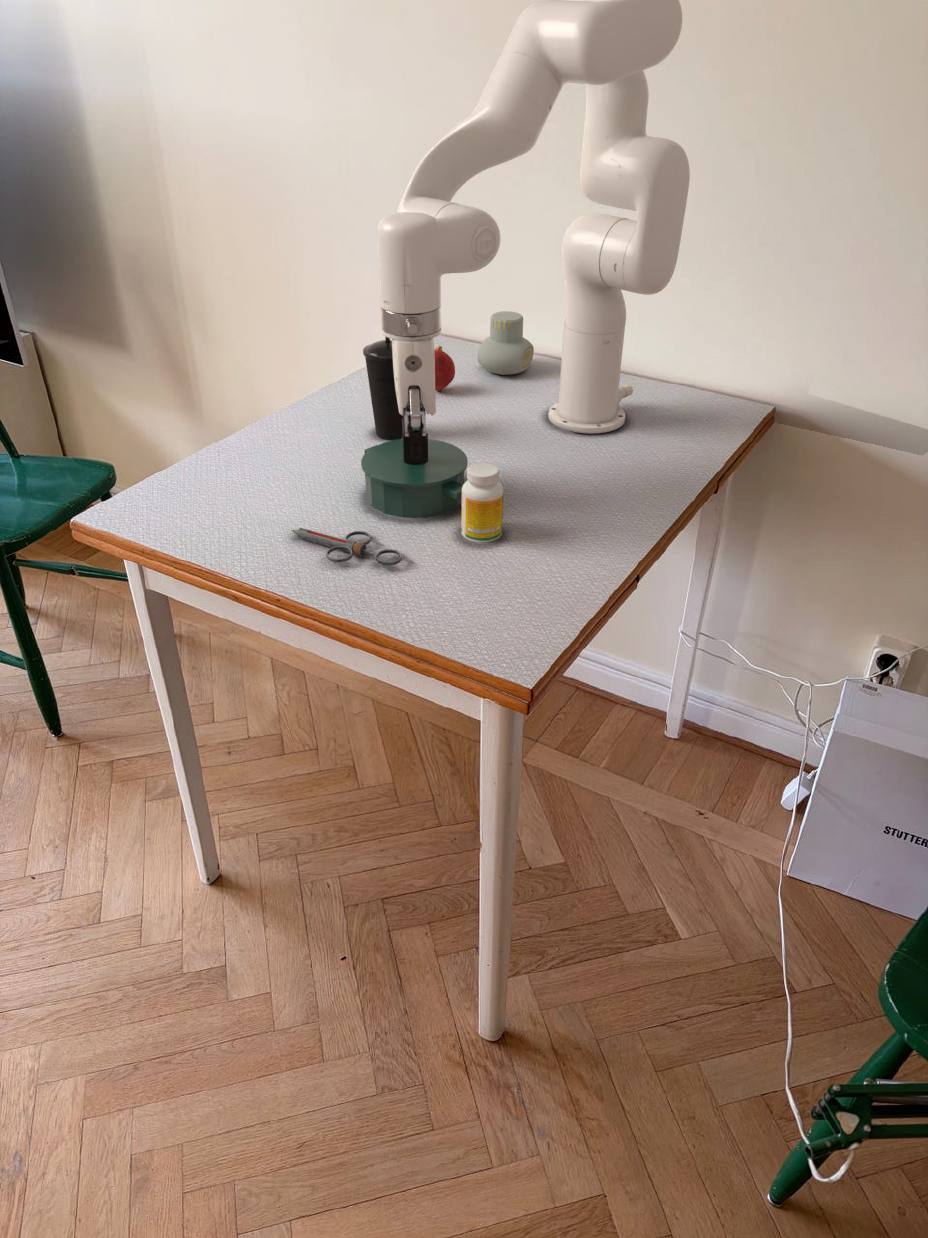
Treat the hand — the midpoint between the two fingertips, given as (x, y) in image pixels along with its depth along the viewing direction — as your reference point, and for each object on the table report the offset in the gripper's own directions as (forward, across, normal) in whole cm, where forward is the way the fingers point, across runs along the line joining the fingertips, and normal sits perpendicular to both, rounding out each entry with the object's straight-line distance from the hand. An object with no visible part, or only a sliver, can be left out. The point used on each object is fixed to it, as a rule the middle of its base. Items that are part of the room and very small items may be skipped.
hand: (414, 447), depth 128 cm
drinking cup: (+8, +22, +3) cm, 24 cm away
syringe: (+8, -14, +10) cm, 19 cm away
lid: (+2, 0, 0) cm, 2 cm away
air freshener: (+8, +49, -18) cm, 53 cm away
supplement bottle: (+8, -11, -8) cm, 16 cm away
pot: (+8, 0, 0) cm, 8 cm away
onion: (+8, +40, -6) cm, 41 cm away
